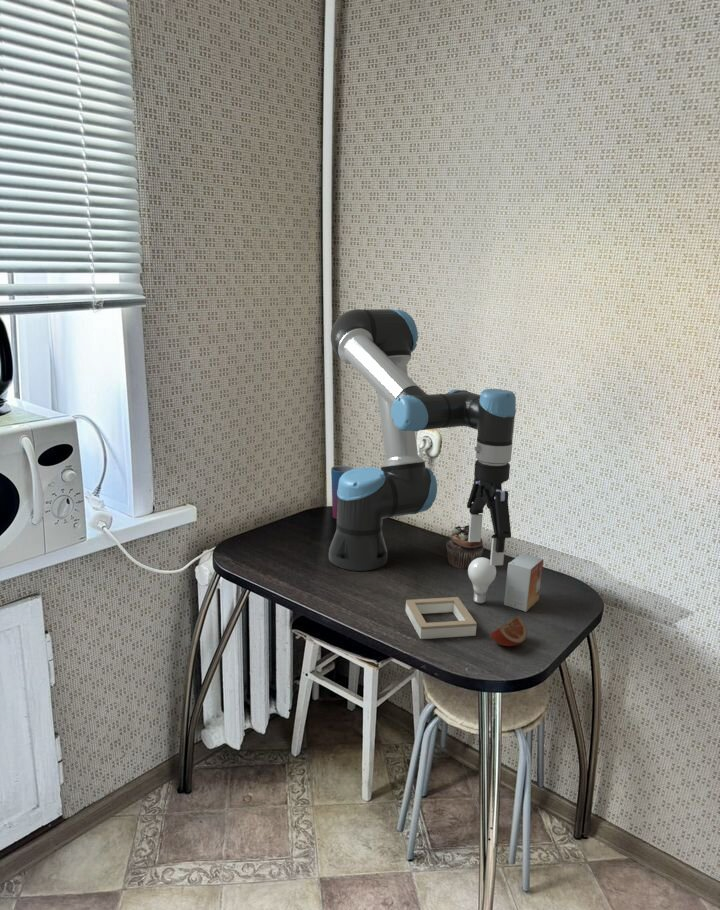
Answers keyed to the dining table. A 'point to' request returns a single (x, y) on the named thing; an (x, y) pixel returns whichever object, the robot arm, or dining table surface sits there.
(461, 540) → the cupcake
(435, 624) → the square frame
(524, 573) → the small box
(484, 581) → the lightbulb
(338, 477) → the cup
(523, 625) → the fruit slice
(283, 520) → the dining table surface
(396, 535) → the dining table surface
